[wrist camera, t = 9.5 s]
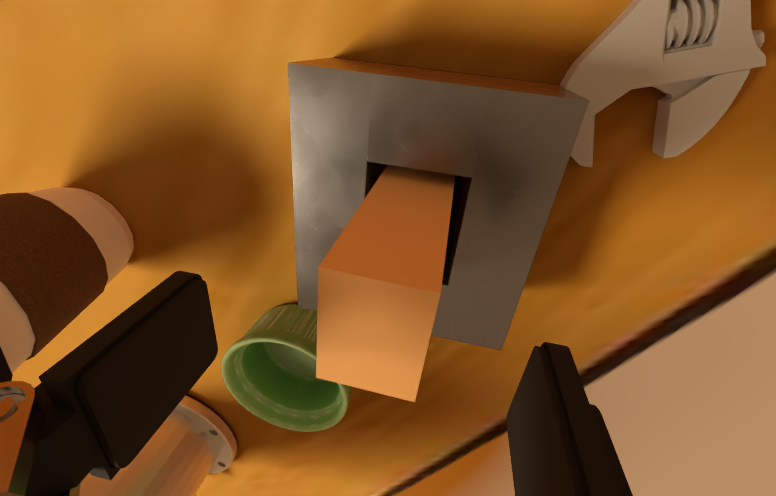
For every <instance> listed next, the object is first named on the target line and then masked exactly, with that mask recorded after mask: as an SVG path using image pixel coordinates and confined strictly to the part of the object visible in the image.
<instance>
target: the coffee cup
mask: <svg viewBox="0 0 776 496" xmlns="http://www.w3.org/2000/svg"><path fill="white" fill-rule="evenodd" d="M133 249H134V242H133V234H132V232H131V230H130V228H129V226H128V224H127V222H126V220H125V219H124V218H123V216H122V215H121V214H120V213H119V212H118V211H117V209H116V208H115V207H114V206H113V205H112V204H110V203H109V202H108V201H106V200H105V199H103V198H102V197H101V196H99V195H98V194H95V193H92V192H90V191H87V190H84V189H80V188H70V187H66V188H51V189H46V190H40V191H35V192H29V193H7V194H2V195H0V383H2V382H8V381H11V380H12V376H13V375H12V372H13V371H14V370H15V369H16V368H18V367H19V366H20V365H21V364H22V363H23V362H24V361H25V360H28V359H30V358H32V357H34V356H35V355H36V354H37V353H38V352H39V351H40V350H42V349H43V348H44V347H45V346H46V345H47V344H48V343H49V342H50V341H51V340H52V339H53V338H54V337H55V336H56V335H57V334H59V333H60V332H61V331H62V330H63V329H64V328H65V327H66V326H67V325H68V324H69V323H70V322H71V321H72V320H73V319H75V318H76V317H77V316H78V315H79V314H80V313H81V312H82V311H83V310H84V309H85V308H86V307H87V306H88V305H89V304H90V303H92V302H93V301H94V300H95V299H96V298H97V297H98V296H99V295H100V294H101V293H102V292H103V291H104V288H105V286H106V285H107V284H108V283H109V282H110V281H111V280H112V279H113V278H114V277H115V276H116V275H117V274H118V273H119V272H121V271H122V270H123V269H124V268H125V267H126V265H127V263H128V261H129V259H130V256H131V254H132V252H133Z"/></svg>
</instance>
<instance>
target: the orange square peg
mask: <svg viewBox="0 0 776 496" xmlns="http://www.w3.org/2000/svg"><path fill="white" fill-rule="evenodd" d="M454 183H455V175H451V174H445V173H438V172H432V171H425V170H419V169H413V168H406V167H400V166H393V165H387V167H386V168H385V170H384V171H383V173H382V174H381V176H380V177H379V178H378V180H377V181H376V183H375V184H374V186H373V187H372V189H371V190H370V192H369V193H368V195H367V196H366V198H365V199H364V201H363V202H362V203H361V205H360V206H359V208H358V209H357V211H356V212H355V214H354V215H353V217H352V218H351V220H350V221H349V223H348V224H347V226H346V227H345V228H344V230H343V231H342V233H341V234H340V236H339V237H338V239H337V240H336V242H335V243H334V245H333V246H332V248H331V249H330V251H329V252H328V253H327V255H326V256H325V258H324V259H323V261H322V262H321V264H320V265H319V267H318V304H317V358H316V378H320V379H324V380H328V381H332V382H336V383H340V384H344V385H348V386H352V387H356V388H360V389H364V390H368V391H372V392H376V393H380V394H384V395H388V396H392V397H396V398H400V399H404V400H408V401H412V402H415V399H416V395H417V391H418V387H419V382H420V378H421V374H422V370H423V366H424V361H425V357H426V353H427V349H428V345H429V340H430V336H431V332H432V328H433V324H434V320H435V315H436V311H437V307H438V303H439V299H440V294H441V287H442V279H443V271H444V263H445V255H446V247H447V239H448V231H449V223H450V215H451V207H452V199H453V191H454Z"/></svg>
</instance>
